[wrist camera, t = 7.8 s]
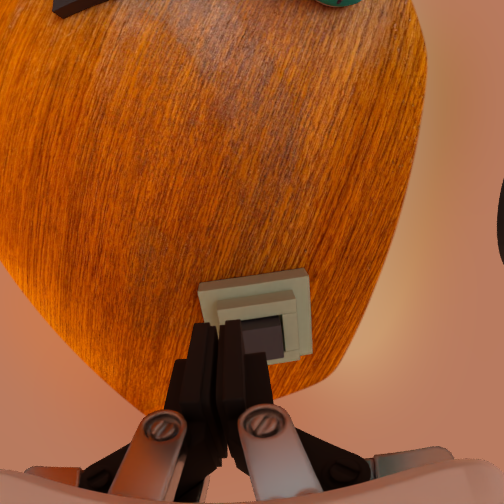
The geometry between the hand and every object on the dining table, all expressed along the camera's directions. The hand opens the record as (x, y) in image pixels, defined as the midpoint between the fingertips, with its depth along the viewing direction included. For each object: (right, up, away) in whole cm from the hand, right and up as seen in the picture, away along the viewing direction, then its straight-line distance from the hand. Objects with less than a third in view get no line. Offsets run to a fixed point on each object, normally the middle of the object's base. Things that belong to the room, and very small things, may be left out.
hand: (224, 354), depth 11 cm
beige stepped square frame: (+2, -2, +16) cm, 16 cm away
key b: (+2, -3, +13) cm, 14 cm away
